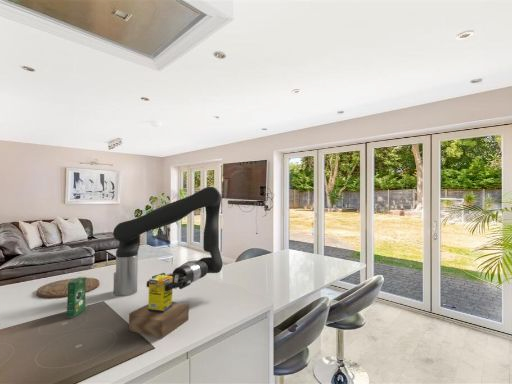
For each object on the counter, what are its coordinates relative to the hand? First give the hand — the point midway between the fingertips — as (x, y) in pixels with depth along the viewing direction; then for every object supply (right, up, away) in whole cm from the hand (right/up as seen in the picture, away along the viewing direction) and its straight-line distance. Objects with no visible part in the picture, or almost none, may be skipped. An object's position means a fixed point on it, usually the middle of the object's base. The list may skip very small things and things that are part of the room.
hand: (156, 286), depth 94 cm
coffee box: (-34, -14, +10) cm, 38 cm away
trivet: (-56, -15, +37) cm, 69 cm away
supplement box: (+1, -9, +2) cm, 9 cm away
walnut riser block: (+1, -14, +2) cm, 15 cm away
